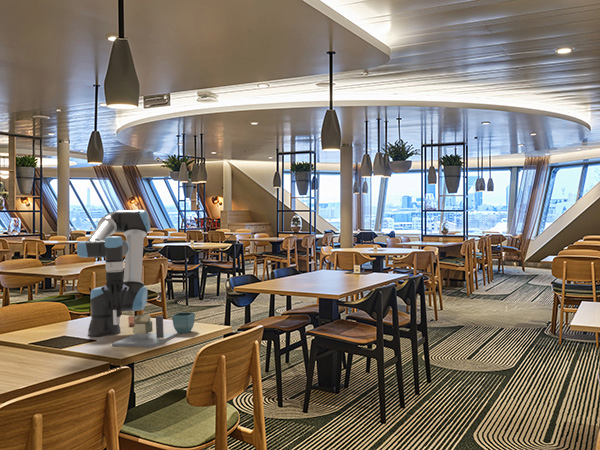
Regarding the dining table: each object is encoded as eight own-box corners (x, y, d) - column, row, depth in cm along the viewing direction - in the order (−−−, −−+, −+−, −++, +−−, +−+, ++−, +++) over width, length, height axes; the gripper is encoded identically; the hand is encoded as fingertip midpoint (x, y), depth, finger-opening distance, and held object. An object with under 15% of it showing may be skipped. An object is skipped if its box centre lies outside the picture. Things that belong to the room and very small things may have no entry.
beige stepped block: (139, 330, 260) (139, 311, 260) (153, 330, 259) (153, 311, 258) (123, 337, 246) (122, 317, 246) (137, 337, 245) (137, 317, 244)
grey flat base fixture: (112, 346, 247) (111, 321, 247) (137, 335, 269) (136, 312, 269) (153, 347, 243) (152, 322, 242) (176, 336, 264) (175, 313, 264)
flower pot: (189, 334, 268) (188, 315, 267) (171, 334, 269) (171, 315, 269) (196, 330, 276) (195, 312, 276) (179, 330, 278) (178, 312, 278)
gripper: (96, 272, 245) (98, 325, 245) (123, 271, 242) (125, 326, 242) (106, 270, 252) (108, 322, 253) (132, 270, 249) (134, 322, 250)
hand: (116, 324), depth 248 cm, fingers closed
